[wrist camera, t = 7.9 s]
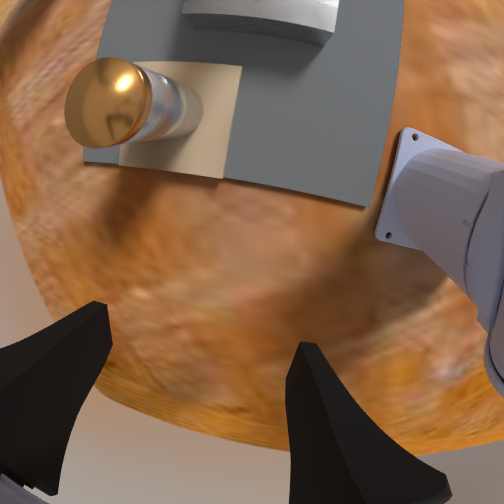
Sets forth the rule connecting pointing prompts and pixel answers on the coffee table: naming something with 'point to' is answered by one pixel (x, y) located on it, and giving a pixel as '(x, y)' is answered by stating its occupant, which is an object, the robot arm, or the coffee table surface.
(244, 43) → the mat
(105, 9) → the coffee table surface
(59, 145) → the coffee table surface
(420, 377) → the coffee table surface
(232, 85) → the cork pad
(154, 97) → the gold capped metal cylinder
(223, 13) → the block
